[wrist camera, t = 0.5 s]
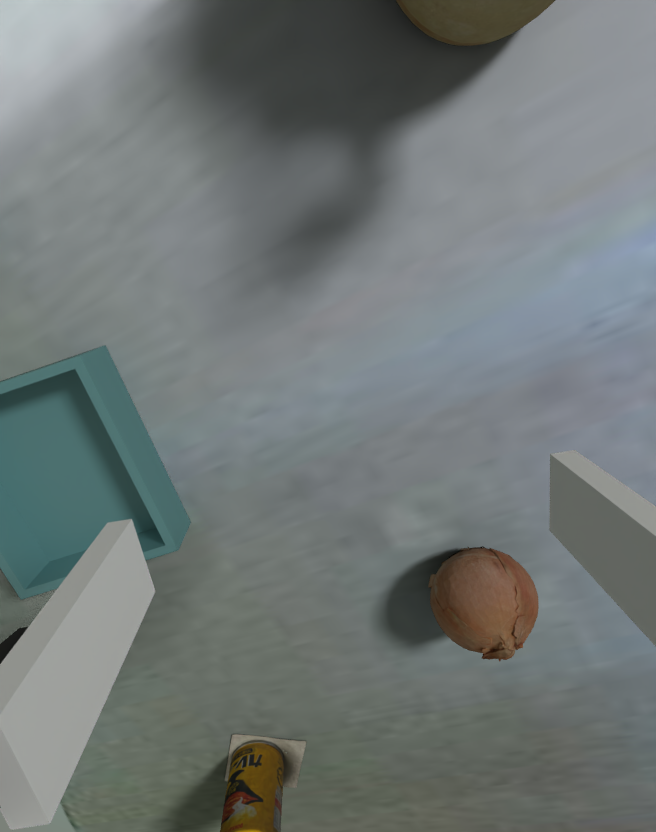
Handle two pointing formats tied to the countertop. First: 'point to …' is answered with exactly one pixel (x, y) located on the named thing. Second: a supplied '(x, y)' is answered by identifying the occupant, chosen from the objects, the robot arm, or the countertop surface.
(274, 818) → the condiment
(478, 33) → the ceramic vessel
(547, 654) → the countertop surface
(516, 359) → the countertop surface
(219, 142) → the countertop surface
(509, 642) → the onion
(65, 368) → the tub
